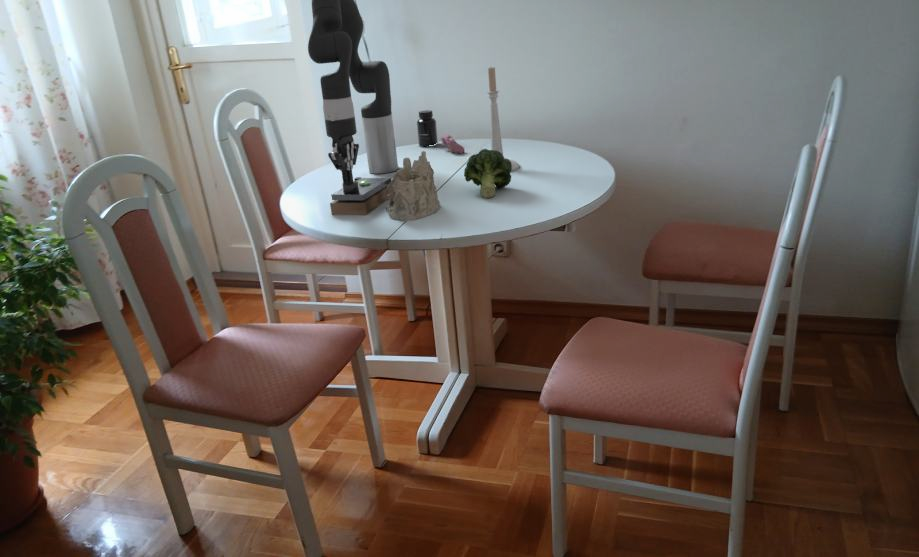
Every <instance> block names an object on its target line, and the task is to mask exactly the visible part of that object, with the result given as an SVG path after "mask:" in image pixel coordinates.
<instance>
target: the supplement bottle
mask: <svg viewBox="0 0 919 557" xmlns="http://www.w3.org/2000/svg"><path fill="white" fill-rule="evenodd" d="M418 118H419V119H418V120H417V122H416V129H417V140H418V146H419V147H420V146H429V145H434V144H436V143H438V142H439V141H438V130H437V121H436V119H435V118H433V111H432V110H429V109H428V110H427V109H426V110H420V111H418Z"/></svg>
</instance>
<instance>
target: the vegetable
mask: <svg viewBox="0 0 919 557" xmlns="http://www.w3.org/2000/svg"><path fill="white" fill-rule="evenodd" d="M503 156H504V154H503V155H502V153H501V152H499V151H497V150H491V149H487V148H483V149H480V150H479V151H478V153H475V154H472V155H470V156H469V157H468V161H467V163H466V164H465V165H466V167H465V168H464V172H463V176H464V179H465V181H466V182H467V183H468V182H470V181H472V182H473V184H475V185H476V186H477V187H479V186H480V195H481V197H483V198H485V199H491V198H493V197H494V196H496V189H497V190H502V189H503V188H505V187H506V186H508V185H510V183H511V181H512V175H511V170H512V164H511V161H510V160H511V159H510V158H505V156H504V157H503ZM509 159H510V160H509Z"/></svg>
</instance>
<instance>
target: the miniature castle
mask: <svg viewBox="0 0 919 557" xmlns="http://www.w3.org/2000/svg"><path fill="white" fill-rule="evenodd" d="M402 165H403V167H401V168H400V169H397V170H396V172H395V173H394V176H393V178H391V182H390V184H389V185H388V186H387V190H388V195H387V196H388V198H389V199H388V200H387V204H386V207H385V208H386V212H387V213H388V216H389V219H391V220H395V221H399V220H400V221H406V222H409V221H416V220H419V219H423V218H426V217H428V216H431V215H433V214H435V213H436V212H438V211H439V210H440V209H441V203H440V200H439V198H438V191H437V186H436V185H435V179H434V174H435V171H434V169H433V167H432V165H431V162H430V161H428V159H427V152H426V151H425V150H422V151H421V153H420V155H419V156H418V160H416V159H414V160H413V162H412V160H411V159H410V158H409V157H405V158H404V157H403V160H402Z"/></svg>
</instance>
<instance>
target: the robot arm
mask: <svg viewBox="0 0 919 557" xmlns="http://www.w3.org/2000/svg"><path fill="white" fill-rule="evenodd" d="M311 10H312V11H311V12H312V13H311V14H312V28H311V31H310V35H309V38H308V44H307V51H308V55H309V58H310V59H311V60H312V61H313V62H314V63H315V64H320V65H323V64H334V63H339V66H338V68H337V69H336V70H334V71H331V72H327V73H325V74H323V75H322V76H320V81H319V82H320V89H321V95H322V109H323V118H324V123H325V132H326V136H327V138H331V139H332V140H331V141H332V143H331V146H332V150H331V151H332V152H328V158H329V159H330V161H331V163H332V164H333V166H334V168H335V170H337V171H338V170H339V171H341V178H342V184H344V185H350V184H352V183H353V181H354V176H353V169H354V166H355V165H357V164H356V163H357V158H358V153H359V149H360V145H359V143H355V142H354V141H355V140H354V137H353V136H354V135H356V134H357V132H358V131H357V123H356V116H355V115H356V114H355V108H354V102H353V99H352V91H351V85H352V87H353V88H354V90H355V91H356V92H357V93H358V94H375V99H374V100H373V101H372V102H370V103H368V104H366V105H364V106H362V107H361V109H360V112H361V121H362V126H363V128H362V129H363V135H364V144H365V151H366V157H367V166H368V173H371V174H388V173H392V172H395V171H397V170H399V164H398V163H399V162H398V152H397V147H396V146H397V145H396V137H395V130H394V129H395V128H394V123H393V122H394V121H393V120H394V119H393V114H392V113H393V112H392V94H391V80H390V79H391V78H390V71H389V67H388V66H387V64H386V62H384V61H381V60H373V61H362V60H361V58H360V56H359V51H358V50H359V45H360V43H361V42H360V41H361V39H362V36H363V32H364V20H363V18H362V15H361V13H360V10H359V8H358V5H357V4H356V2H355V0H311ZM350 83H351V85H350Z"/></svg>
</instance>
